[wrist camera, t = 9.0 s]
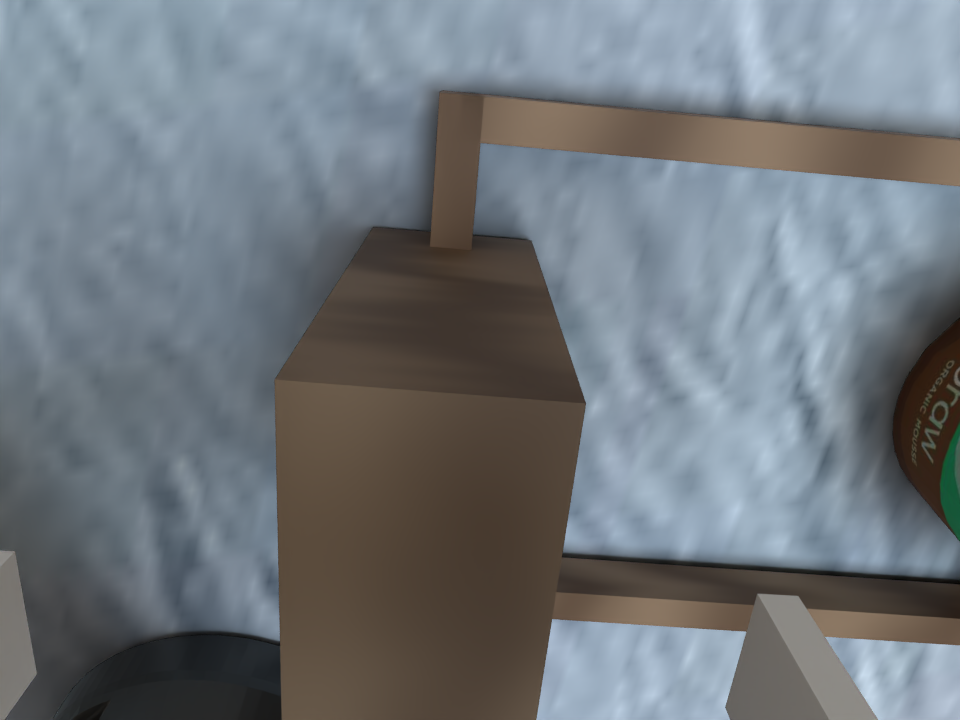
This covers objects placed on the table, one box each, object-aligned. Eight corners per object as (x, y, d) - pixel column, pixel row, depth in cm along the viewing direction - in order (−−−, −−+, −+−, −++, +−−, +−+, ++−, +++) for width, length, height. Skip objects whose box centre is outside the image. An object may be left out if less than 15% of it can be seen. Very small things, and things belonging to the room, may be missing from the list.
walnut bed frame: (362, 569, 27) (285, 910, 16) (377, 84, 21) (268, 100, 10) (987, 611, 28) (1318, 959, 17) (1187, 159, 22) (1919, 251, 11)
